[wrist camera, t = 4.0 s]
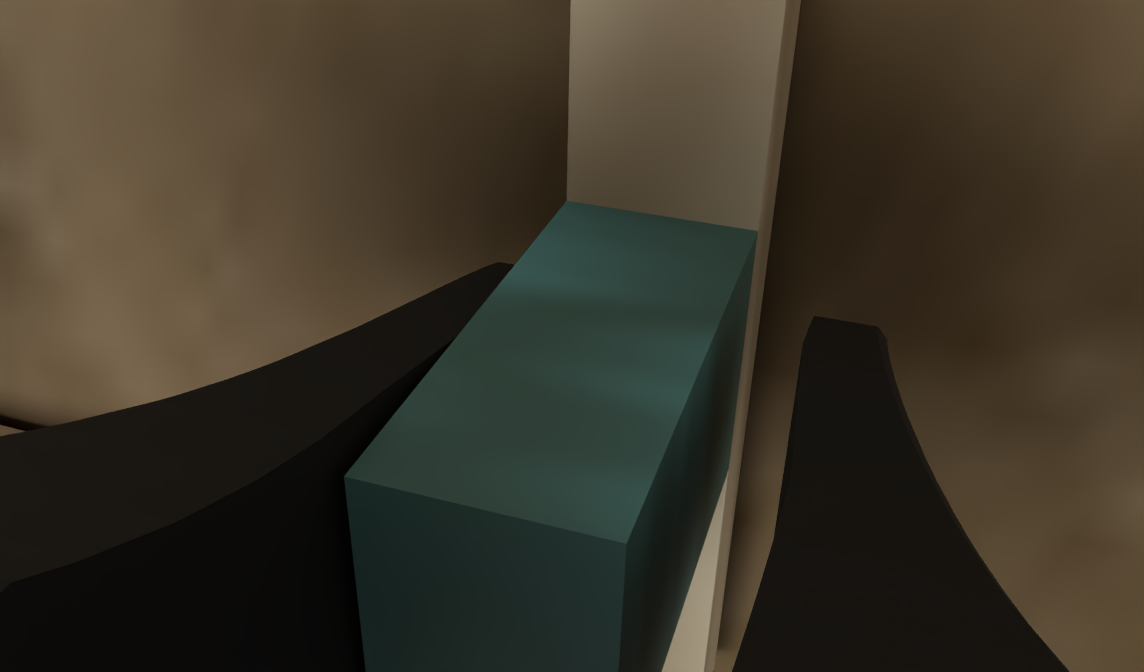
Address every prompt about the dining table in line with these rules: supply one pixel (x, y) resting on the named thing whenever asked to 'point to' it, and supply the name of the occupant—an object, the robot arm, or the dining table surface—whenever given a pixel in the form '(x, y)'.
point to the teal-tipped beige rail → (595, 376)
